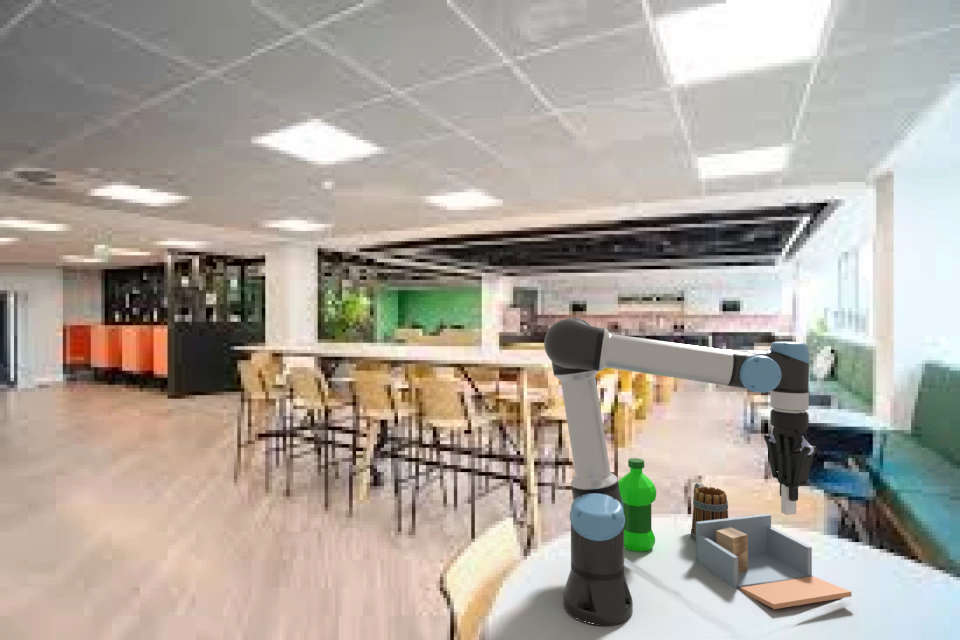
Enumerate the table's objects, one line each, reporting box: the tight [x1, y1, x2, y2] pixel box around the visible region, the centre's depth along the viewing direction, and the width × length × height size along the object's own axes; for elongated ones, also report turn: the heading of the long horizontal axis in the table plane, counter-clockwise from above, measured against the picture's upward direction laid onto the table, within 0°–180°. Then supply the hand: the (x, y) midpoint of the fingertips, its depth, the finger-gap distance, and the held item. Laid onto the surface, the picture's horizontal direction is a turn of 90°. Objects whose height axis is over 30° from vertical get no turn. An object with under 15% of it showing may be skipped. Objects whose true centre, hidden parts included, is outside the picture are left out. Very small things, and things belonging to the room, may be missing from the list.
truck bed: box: [695, 513, 813, 589], centre depth 132 cm, size 22×14×12 cm, turn 104°
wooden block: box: [716, 527, 748, 574], centre depth 132 cm, size 5×5×9 cm
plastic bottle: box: [618, 457, 657, 553], centre depth 146 cm, size 10×10×25 cm
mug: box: [690, 482, 729, 543], centre depth 152 cm, size 16×11×15 cm
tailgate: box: [736, 575, 853, 610], centre depth 120 cm, size 20×1×11 cm
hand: (788, 513), depth 121 cm, fingers closed
